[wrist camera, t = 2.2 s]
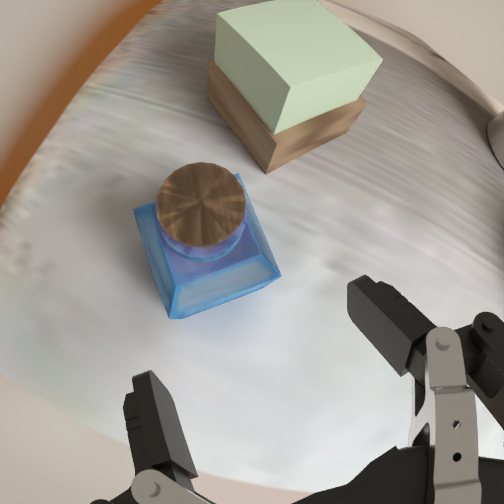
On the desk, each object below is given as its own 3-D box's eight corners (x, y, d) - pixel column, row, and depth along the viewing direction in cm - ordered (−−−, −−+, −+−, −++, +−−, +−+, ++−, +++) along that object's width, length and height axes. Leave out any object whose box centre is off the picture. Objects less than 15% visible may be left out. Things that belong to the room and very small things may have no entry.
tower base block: (287, 69, 28) (299, 33, 23) (345, 134, 27) (367, 103, 22) (207, 99, 26) (208, 61, 21) (264, 176, 25) (276, 143, 20)
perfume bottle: (152, 237, 22) (100, 160, 11) (232, 209, 24) (250, 111, 12) (181, 318, 22) (145, 318, 10) (263, 287, 23) (316, 254, 11)
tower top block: (296, 37, 23) (310, -5, 18) (356, 100, 22) (382, 59, 17) (214, 62, 21) (217, 13, 16) (273, 134, 20) (290, 87, 15)
